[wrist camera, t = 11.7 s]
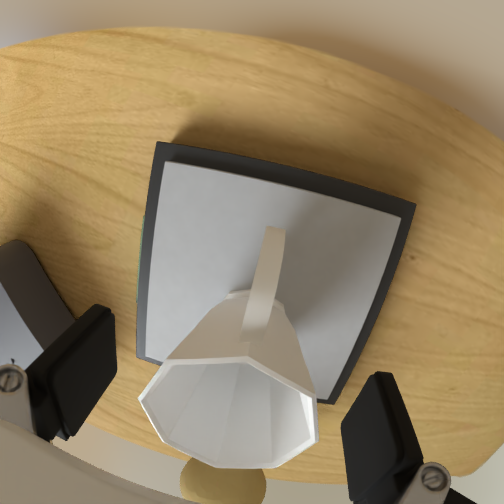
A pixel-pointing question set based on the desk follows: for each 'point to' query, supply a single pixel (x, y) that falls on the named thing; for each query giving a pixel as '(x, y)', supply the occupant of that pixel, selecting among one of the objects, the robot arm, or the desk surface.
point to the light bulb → (221, 484)
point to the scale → (249, 246)
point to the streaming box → (27, 307)
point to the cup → (238, 380)
